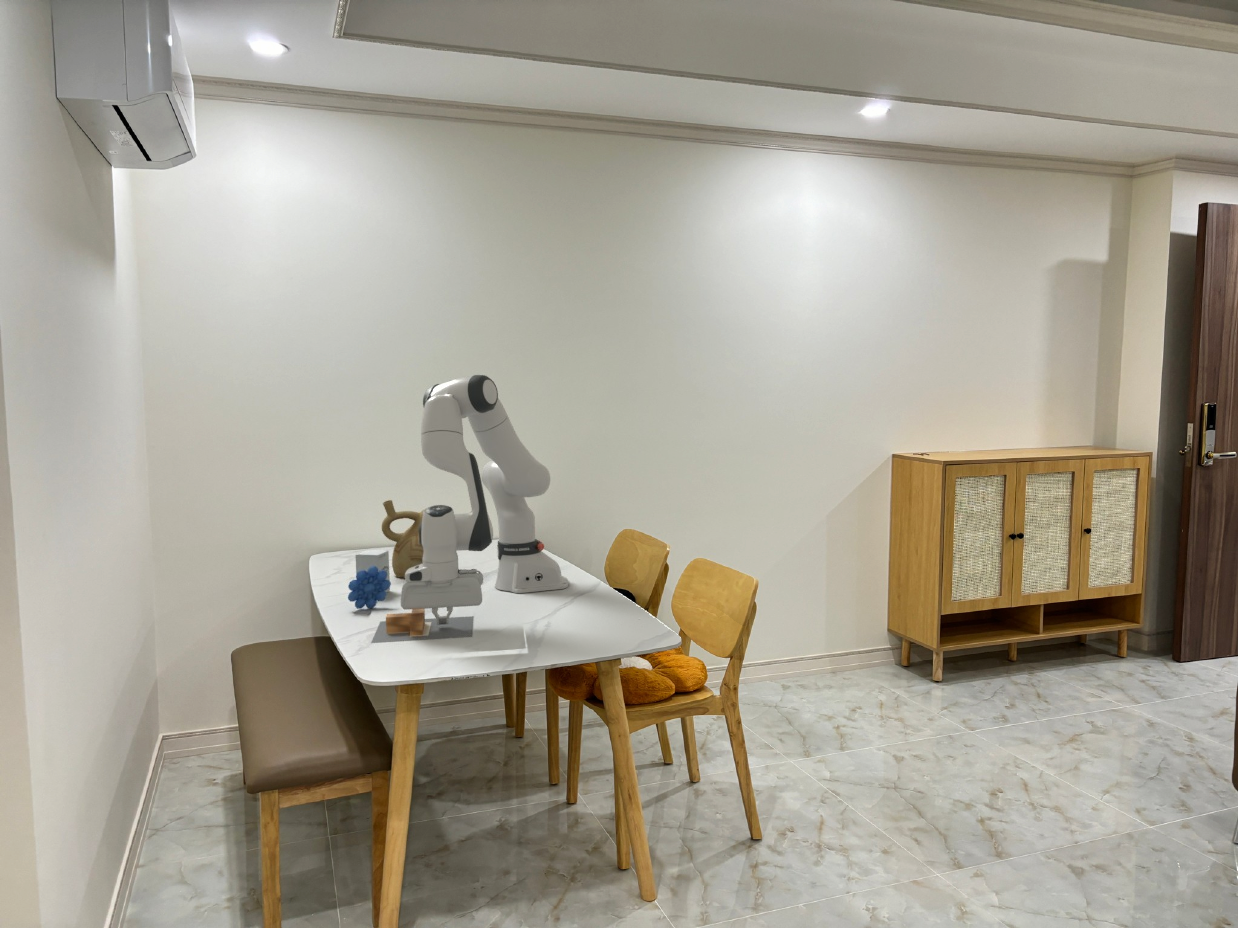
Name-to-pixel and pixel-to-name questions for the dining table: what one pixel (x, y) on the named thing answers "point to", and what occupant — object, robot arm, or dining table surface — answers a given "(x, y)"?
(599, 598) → the dining table surface
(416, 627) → the t block
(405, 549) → the ceramic vessel
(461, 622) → the push board
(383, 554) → the supplement box
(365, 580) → the blue lumpy cluster
